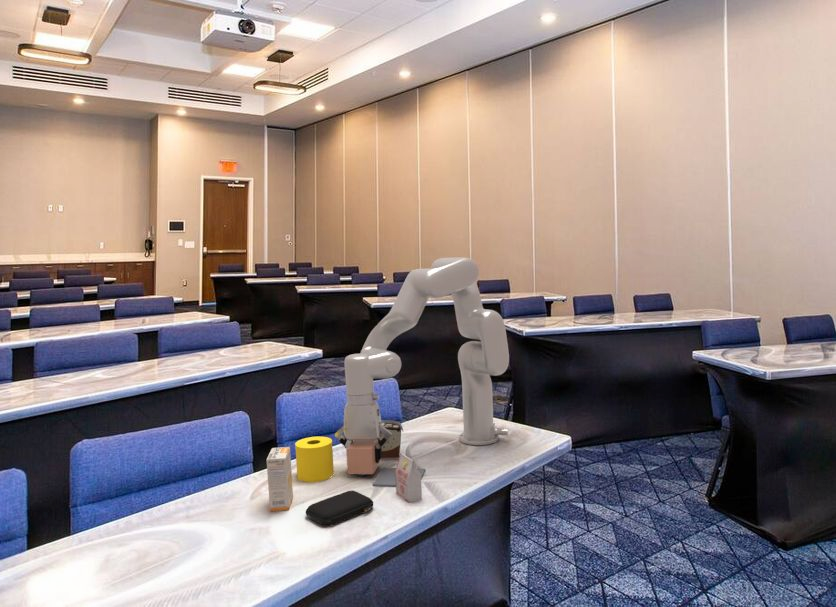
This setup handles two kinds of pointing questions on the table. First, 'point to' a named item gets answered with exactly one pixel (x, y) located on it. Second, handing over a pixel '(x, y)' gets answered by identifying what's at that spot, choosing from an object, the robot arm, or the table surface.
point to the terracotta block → (361, 457)
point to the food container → (391, 440)
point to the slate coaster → (390, 477)
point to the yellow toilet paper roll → (314, 459)
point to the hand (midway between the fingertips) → (364, 460)
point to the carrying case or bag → (339, 508)
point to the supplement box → (279, 478)
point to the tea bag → (408, 479)
